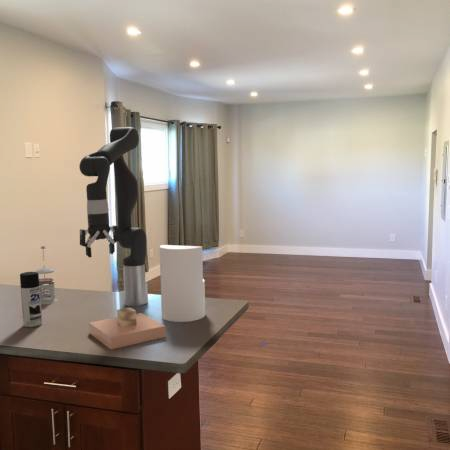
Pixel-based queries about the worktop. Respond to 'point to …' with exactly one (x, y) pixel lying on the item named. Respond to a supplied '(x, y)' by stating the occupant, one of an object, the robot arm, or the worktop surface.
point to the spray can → (30, 299)
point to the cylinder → (182, 283)
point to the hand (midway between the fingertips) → (100, 255)
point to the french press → (46, 297)
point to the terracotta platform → (126, 331)
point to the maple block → (126, 317)
